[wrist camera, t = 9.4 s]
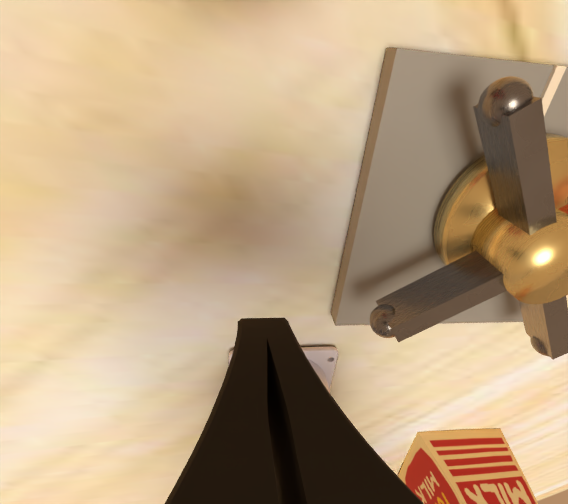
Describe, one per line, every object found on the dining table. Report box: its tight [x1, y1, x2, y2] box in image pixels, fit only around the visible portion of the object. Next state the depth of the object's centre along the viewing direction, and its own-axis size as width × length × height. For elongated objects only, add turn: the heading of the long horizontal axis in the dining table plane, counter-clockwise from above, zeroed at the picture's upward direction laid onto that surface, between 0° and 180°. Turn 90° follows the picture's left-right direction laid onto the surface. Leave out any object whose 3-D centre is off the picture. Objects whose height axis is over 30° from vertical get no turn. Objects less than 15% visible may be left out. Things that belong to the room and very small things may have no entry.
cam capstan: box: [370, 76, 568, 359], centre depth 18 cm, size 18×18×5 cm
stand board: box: [331, 48, 568, 325], centre depth 20 cm, size 16×16×1 cm
